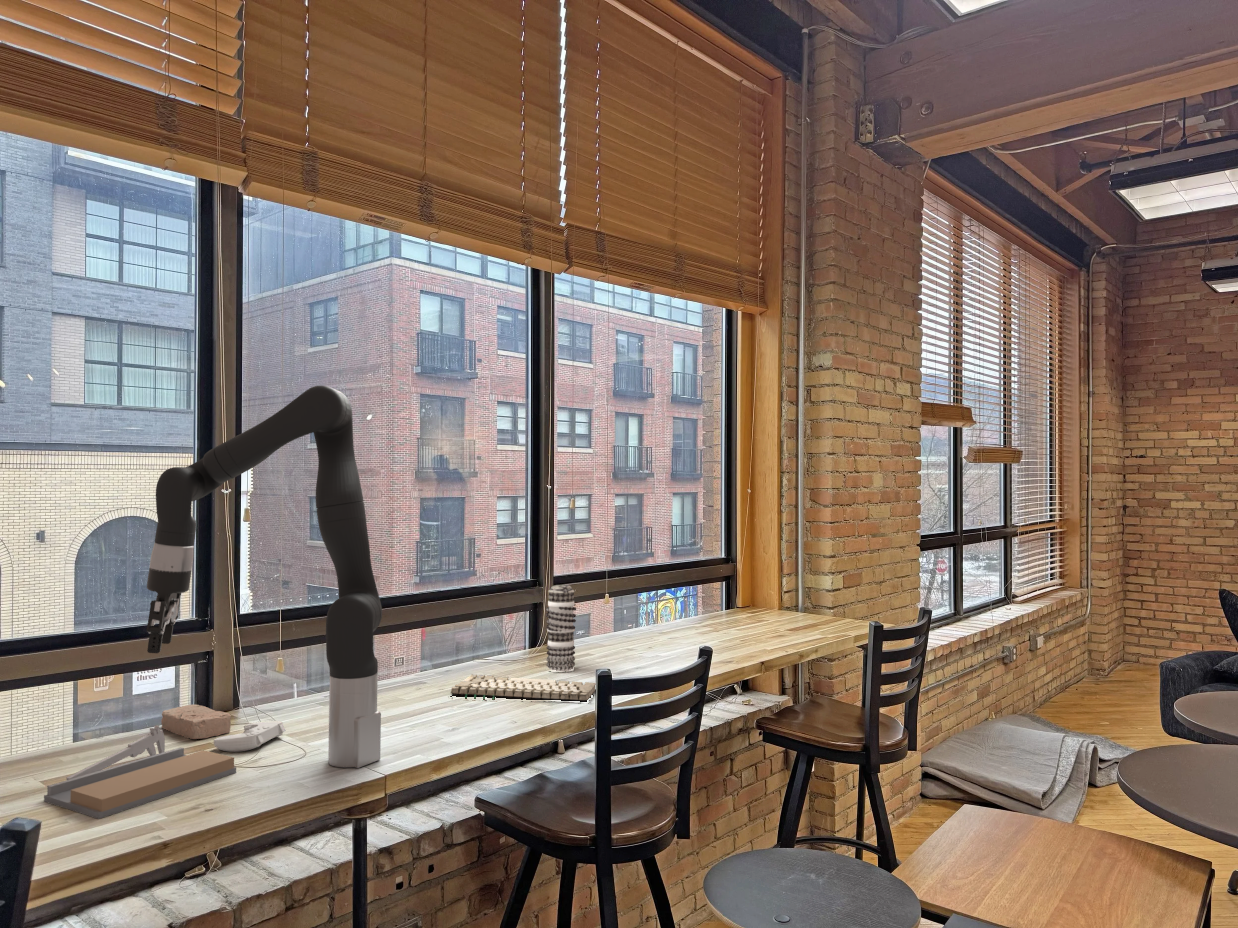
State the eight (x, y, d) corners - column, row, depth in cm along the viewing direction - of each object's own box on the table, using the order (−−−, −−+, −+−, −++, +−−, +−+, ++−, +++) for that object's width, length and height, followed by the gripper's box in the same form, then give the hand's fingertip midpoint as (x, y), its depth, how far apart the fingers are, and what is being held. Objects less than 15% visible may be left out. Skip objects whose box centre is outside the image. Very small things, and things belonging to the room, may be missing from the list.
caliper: (160, 754, 175) (161, 723, 175) (164, 755, 174) (165, 723, 174) (59, 787, 156) (60, 751, 156) (63, 788, 155) (64, 752, 155)
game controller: (249, 718, 190) (290, 711, 188) (253, 738, 190) (293, 731, 188) (207, 737, 176) (250, 730, 174) (211, 759, 176) (254, 751, 174)
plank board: (236, 772, 163) (236, 756, 163) (98, 818, 140) (99, 800, 141) (182, 759, 171) (183, 744, 171) (44, 801, 148) (44, 783, 148)
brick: (158, 729, 193) (159, 708, 193) (196, 721, 199) (196, 701, 199) (194, 743, 183) (195, 721, 183) (232, 734, 189) (232, 713, 189)
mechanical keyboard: (600, 689, 234) (600, 677, 234) (588, 708, 215) (588, 694, 215) (466, 684, 239) (466, 672, 239) (443, 702, 220) (443, 689, 220)
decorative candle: (579, 667, 259) (580, 584, 260) (571, 673, 250) (571, 588, 251) (550, 665, 262) (551, 583, 262) (541, 671, 253) (542, 587, 253)
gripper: (183, 573, 164) (171, 657, 164) (198, 563, 178) (187, 641, 178) (140, 569, 162) (128, 654, 162) (159, 560, 176) (147, 638, 176)
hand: (159, 647), depth 170 cm, fingers open, 8 cm apart
